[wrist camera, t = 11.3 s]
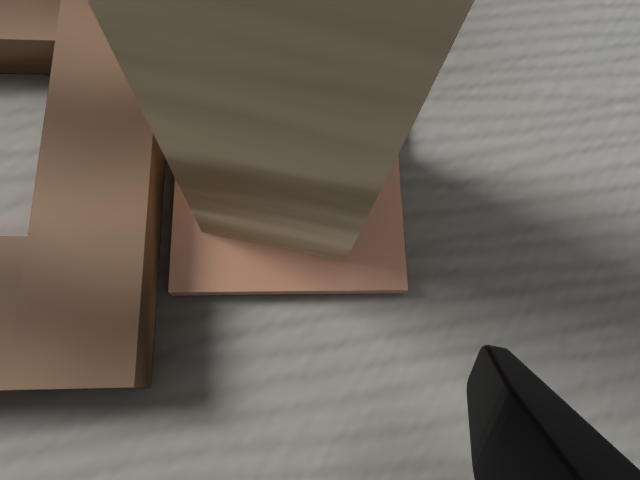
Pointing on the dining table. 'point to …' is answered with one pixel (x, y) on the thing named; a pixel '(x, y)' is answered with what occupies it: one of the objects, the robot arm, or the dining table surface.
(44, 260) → the pocket board
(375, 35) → the maple block
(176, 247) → the terracotta tile
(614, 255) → the dining table surface
